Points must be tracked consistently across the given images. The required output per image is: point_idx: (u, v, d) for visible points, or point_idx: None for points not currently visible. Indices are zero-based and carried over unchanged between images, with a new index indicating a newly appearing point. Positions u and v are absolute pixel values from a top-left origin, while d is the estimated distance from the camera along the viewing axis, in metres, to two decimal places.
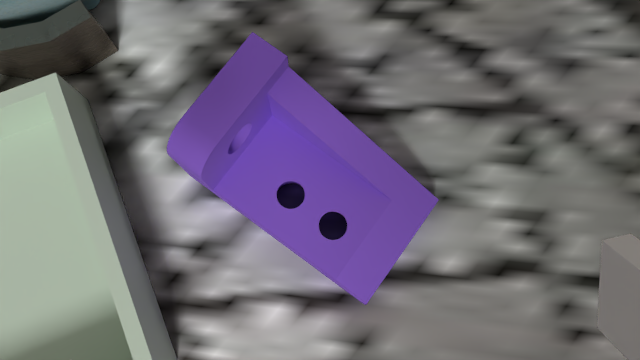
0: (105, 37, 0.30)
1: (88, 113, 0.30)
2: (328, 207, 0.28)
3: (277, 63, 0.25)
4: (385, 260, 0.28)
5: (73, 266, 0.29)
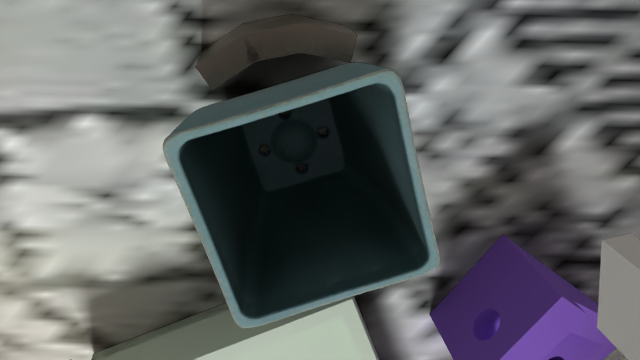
0: None
1: None
2: (552, 352, 0.34)
3: (577, 321, 0.28)
4: None
5: None
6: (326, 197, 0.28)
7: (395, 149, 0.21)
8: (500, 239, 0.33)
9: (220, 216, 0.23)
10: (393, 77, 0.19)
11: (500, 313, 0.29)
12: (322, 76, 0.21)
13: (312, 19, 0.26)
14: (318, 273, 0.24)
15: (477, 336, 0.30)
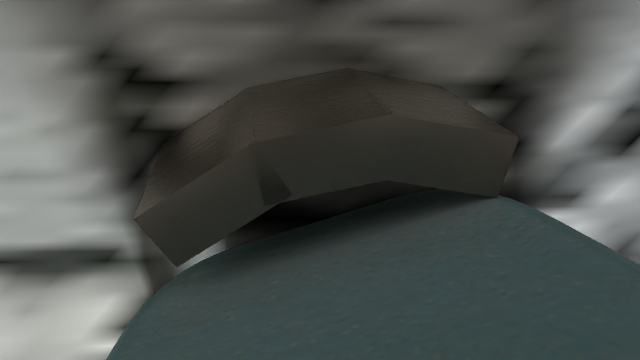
0: None
1: None
2: None
3: None
4: None
5: None
6: None
7: None
8: None
9: None
10: None
11: None
12: (459, 268, 0.08)
13: (392, 83, 0.12)
14: None
15: None
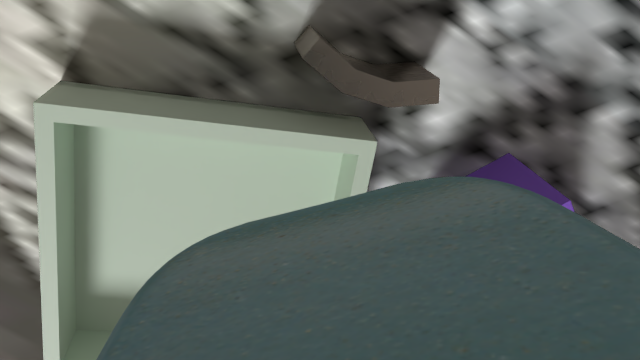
0: None
1: None
2: None
3: None
4: None
5: None
6: None
7: None
8: (505, 156, 0.32)
9: None
10: None
11: None
12: (479, 259, 0.08)
13: None
14: None
15: None
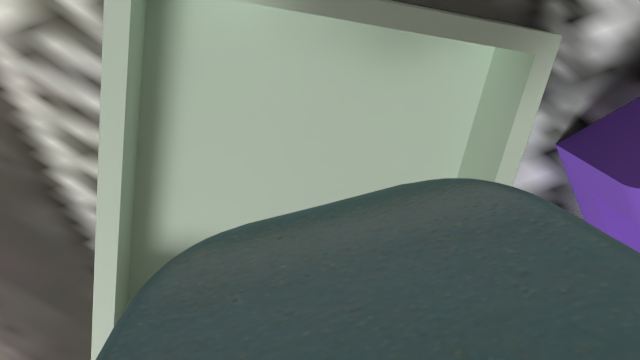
0: None
1: None
2: None
3: None
4: None
5: None
6: None
7: None
8: None
9: None
10: None
11: None
12: (477, 262, 0.08)
13: None
14: None
15: None
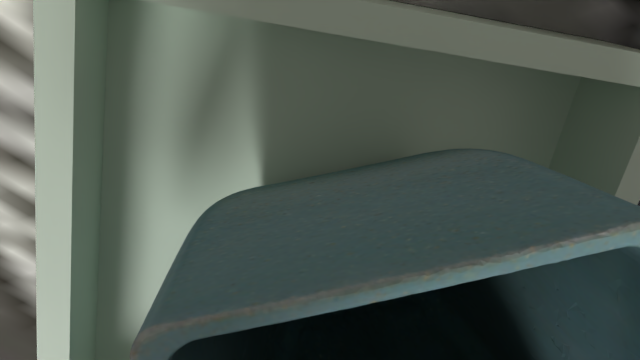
0: None
1: None
2: None
3: None
4: None
5: None
6: (393, 341, 0.17)
7: (592, 343, 0.11)
8: None
9: None
10: None
11: None
12: (467, 188, 0.11)
13: None
14: None
15: None
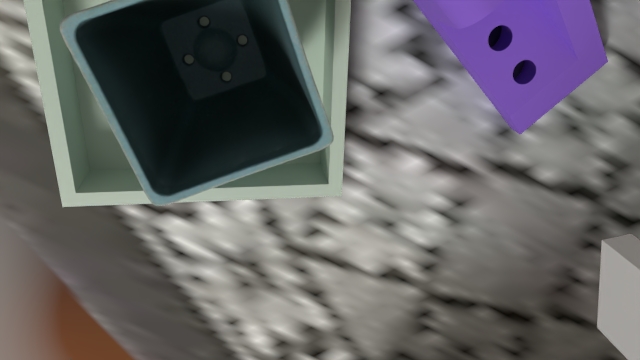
0: None
1: None
2: (525, 55, 0.32)
3: None
4: (548, 104, 0.34)
5: None
6: (248, 101, 0.30)
7: (284, 32, 0.23)
8: None
9: (132, 106, 0.25)
10: None
11: None
12: None
13: None
14: (228, 158, 0.26)
15: None
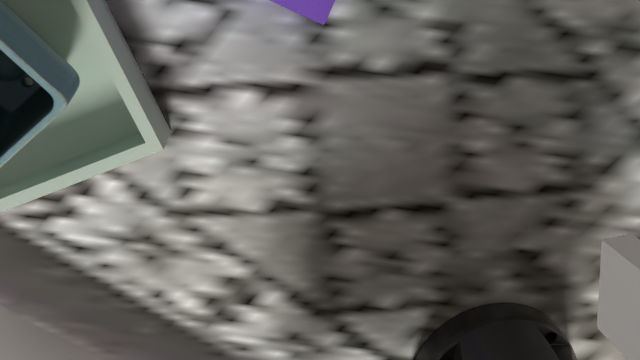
0: None
1: None
2: None
3: None
4: None
5: (75, 61, 0.34)
6: (46, 95, 0.33)
7: None
8: None
9: None
10: None
11: None
12: None
13: None
14: (7, 148, 0.29)
15: None
